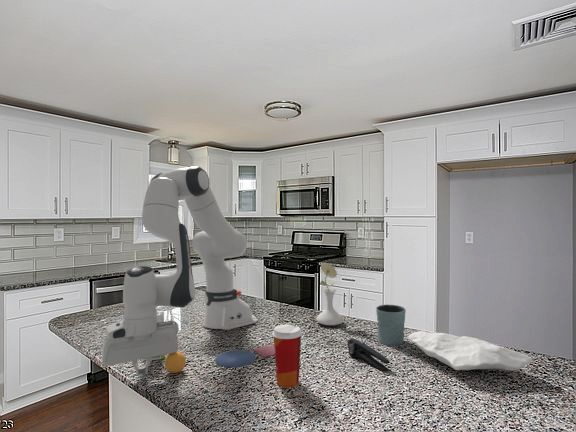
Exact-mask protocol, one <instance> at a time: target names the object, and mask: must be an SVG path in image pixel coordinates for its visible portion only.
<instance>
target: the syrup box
mask: <svg viewBox="0 0 576 432" xmlns="http://www.w3.org/2000/svg"><path fill="white" fill-rule="evenodd" d="M157 322H165V311H164V310H157ZM144 360H145V361H146V359H144ZM155 360H165V355H161V356H156V357H152V361H155Z"/></svg>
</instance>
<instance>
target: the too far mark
mask: <svg viewBox="0 0 576 432" xmlns="http://www.w3.org/2000/svg"><path fill="white" fill-rule="evenodd" d="M253 351H255V352H256V353H257V354H259V355H260V357H261V356H262V358H268V357H272V356H275V350H274V344H270V345H264V346H260V347H256V348H255V347H254V348H253Z"/></svg>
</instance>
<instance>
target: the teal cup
mask: <svg viewBox="0 0 576 432" xmlns="http://www.w3.org/2000/svg"><path fill="white" fill-rule="evenodd" d="M375 309H376V316H377V317H376V318H377V319H376V320H377V334H378V335H377V336H378V341H379V343H380V344H382V345H385V346H391V347H394V346H395V347H396V346H401V345H403V344H404V337H405V333H404V331H405V322H406V308H405V307H404V306H402V305H397V304H379V305H378V306H376V308H375Z"/></svg>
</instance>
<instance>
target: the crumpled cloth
mask: <svg viewBox="0 0 576 432" xmlns="http://www.w3.org/2000/svg"><path fill="white" fill-rule="evenodd" d="M406 339H407V340H409V341H410V343H413V344H414V345H416V346H417V347H418V348H419V349H420V350H421V351H423V353H424V354H425V355H427V356H428V357H431V358H433V359H436V360H437V361H439V362H441V363H443V364H445V365H447V366H448V367H450V368H452V369H453V370H455V371H471V370H493V369H495V370H496V369H497V370H503V371H512V372H513V371H518V370H520V369H522V368H524V367H525V366H527V365H529V364H531V363H533V358H532V357H530V356H528V355H527V354H524V353H522V352H519V351H515V350H512V349H509V348H506V347H502V346H500V345H497V344H493V343H491V342H488V341H487V340H483V339H480V338H476V337H471V336H466V335H464V336H457V335H454V334H450V333H444V332H429V331H421V330H419V331H416V332H412V333H410V334H408V335H407V336H406Z"/></svg>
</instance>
